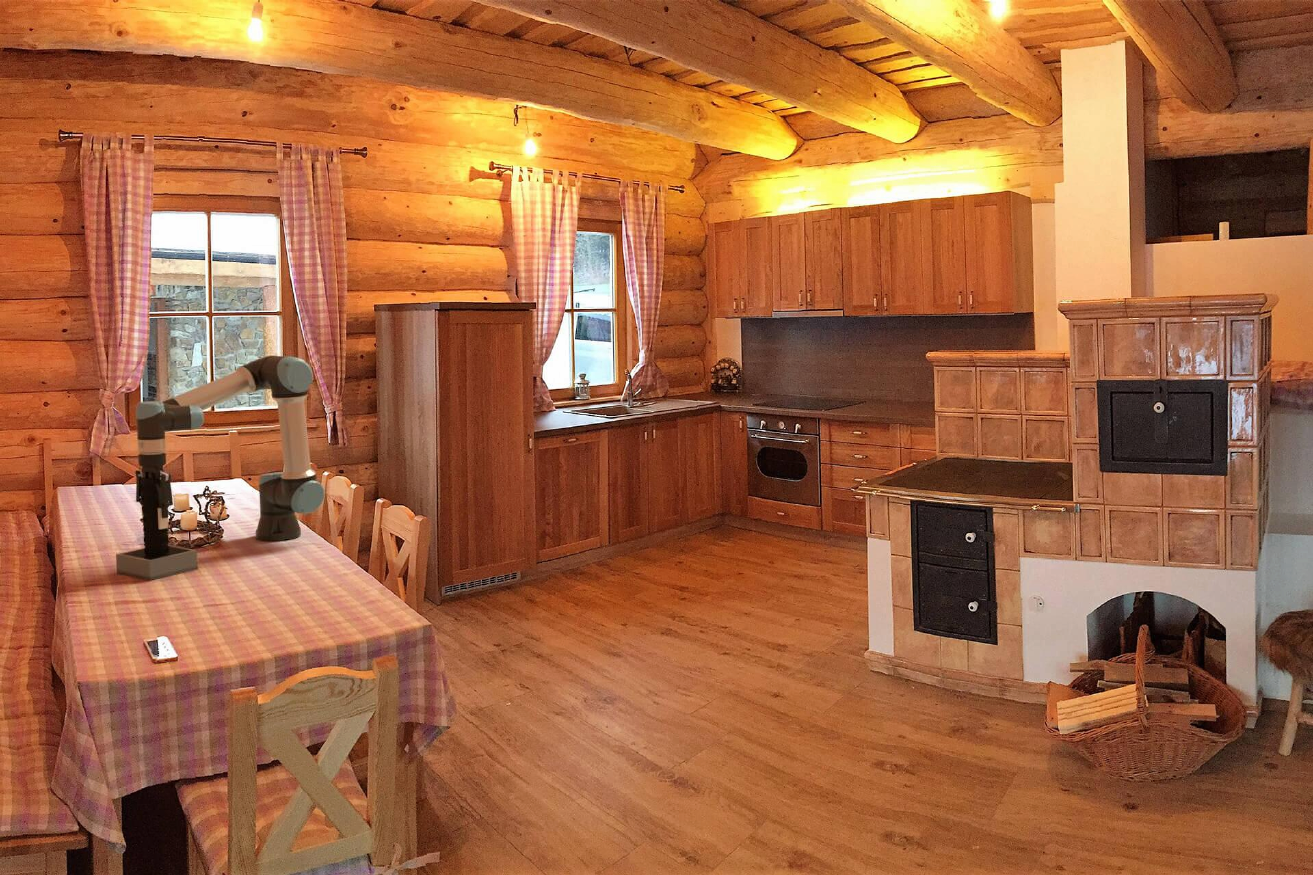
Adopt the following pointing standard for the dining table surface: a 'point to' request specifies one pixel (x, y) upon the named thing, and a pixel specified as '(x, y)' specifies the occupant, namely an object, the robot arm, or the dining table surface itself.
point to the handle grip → (152, 522)
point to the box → (156, 563)
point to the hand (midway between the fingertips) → (155, 526)
